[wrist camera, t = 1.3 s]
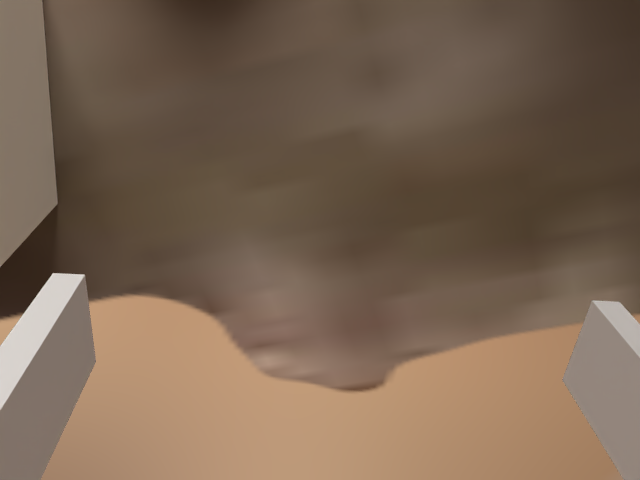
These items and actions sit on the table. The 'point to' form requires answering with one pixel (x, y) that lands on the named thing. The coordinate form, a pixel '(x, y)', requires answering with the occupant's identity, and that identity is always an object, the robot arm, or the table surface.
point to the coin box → (24, 125)
